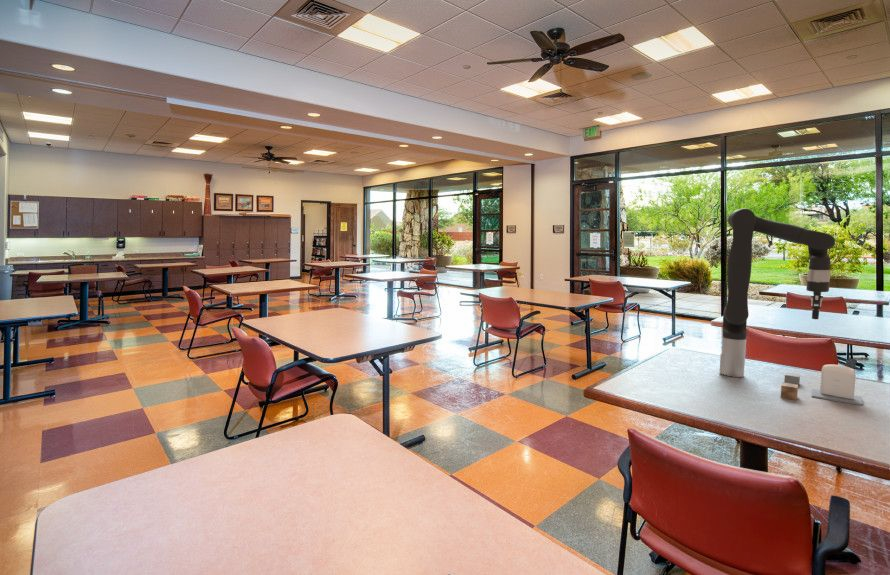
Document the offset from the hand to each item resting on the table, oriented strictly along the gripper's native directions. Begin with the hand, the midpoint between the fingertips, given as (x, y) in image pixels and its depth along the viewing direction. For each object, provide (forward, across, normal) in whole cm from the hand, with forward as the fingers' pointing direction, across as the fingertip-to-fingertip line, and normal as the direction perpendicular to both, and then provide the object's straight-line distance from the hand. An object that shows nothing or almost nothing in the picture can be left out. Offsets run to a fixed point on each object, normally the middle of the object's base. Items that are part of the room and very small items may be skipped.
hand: (815, 317), depth 197 cm
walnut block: (+28, +30, -6) cm, 42 cm away
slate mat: (+28, +20, +8) cm, 36 cm away
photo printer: (+28, +20, +8) cm, 35 cm away
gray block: (+28, +10, -6) cm, 30 cm away
